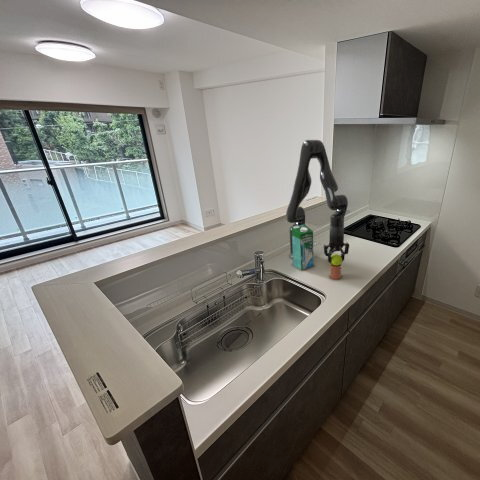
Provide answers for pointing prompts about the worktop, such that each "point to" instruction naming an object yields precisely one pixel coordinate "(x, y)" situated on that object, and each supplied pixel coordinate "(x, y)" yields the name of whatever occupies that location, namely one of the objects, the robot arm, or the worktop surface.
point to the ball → (336, 259)
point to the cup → (335, 272)
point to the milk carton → (302, 246)
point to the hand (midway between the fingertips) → (336, 261)
